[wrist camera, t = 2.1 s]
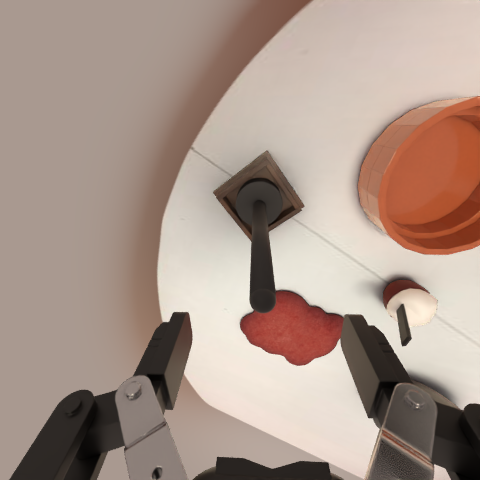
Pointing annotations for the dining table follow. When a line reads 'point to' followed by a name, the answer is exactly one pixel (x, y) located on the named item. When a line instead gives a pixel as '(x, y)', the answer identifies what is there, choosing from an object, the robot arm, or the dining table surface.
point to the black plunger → (260, 237)
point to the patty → (293, 329)
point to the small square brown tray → (259, 169)
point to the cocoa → (409, 306)
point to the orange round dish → (427, 178)
